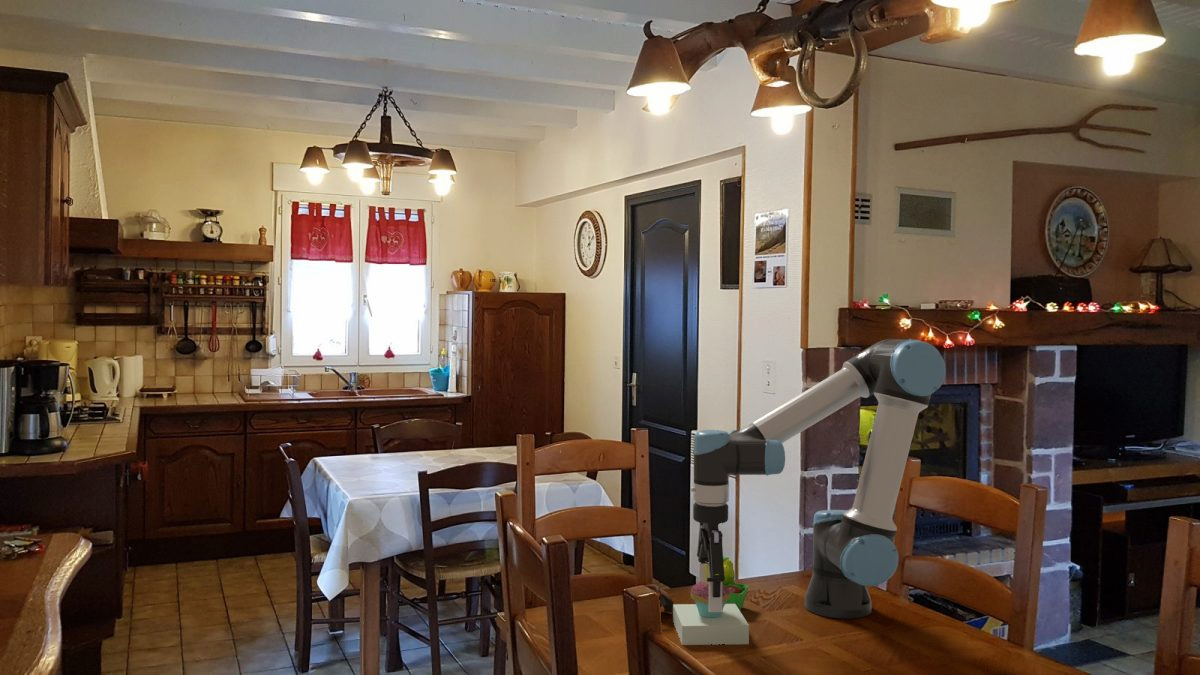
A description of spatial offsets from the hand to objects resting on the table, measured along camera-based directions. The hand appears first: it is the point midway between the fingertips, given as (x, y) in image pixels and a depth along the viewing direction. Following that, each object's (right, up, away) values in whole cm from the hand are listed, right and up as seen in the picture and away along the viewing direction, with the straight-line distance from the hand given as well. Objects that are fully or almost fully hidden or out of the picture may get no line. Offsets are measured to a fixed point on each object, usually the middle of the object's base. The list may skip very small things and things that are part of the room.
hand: (709, 601), depth 196 cm
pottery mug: (-11, -7, +11) cm, 17 cm away
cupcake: (0, -3, 0) cm, 3 cm away
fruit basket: (+5, -7, +18) cm, 19 cm away
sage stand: (0, -7, 0) cm, 7 cm away
